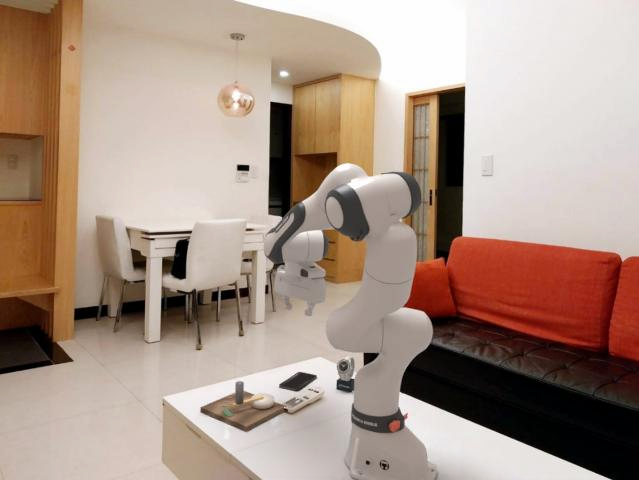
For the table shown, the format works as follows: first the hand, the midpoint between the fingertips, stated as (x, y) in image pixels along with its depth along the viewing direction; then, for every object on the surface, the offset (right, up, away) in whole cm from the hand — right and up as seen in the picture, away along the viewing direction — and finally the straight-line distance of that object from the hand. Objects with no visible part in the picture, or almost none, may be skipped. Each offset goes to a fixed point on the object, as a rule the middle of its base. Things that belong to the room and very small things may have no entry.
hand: (298, 312), depth 151 cm
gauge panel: (-16, -29, -4) cm, 34 cm away
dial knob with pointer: (-13, -28, -5) cm, 31 cm away
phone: (-1, -28, +20) cm, 34 cm away
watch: (+16, -28, +15) cm, 36 cm away
